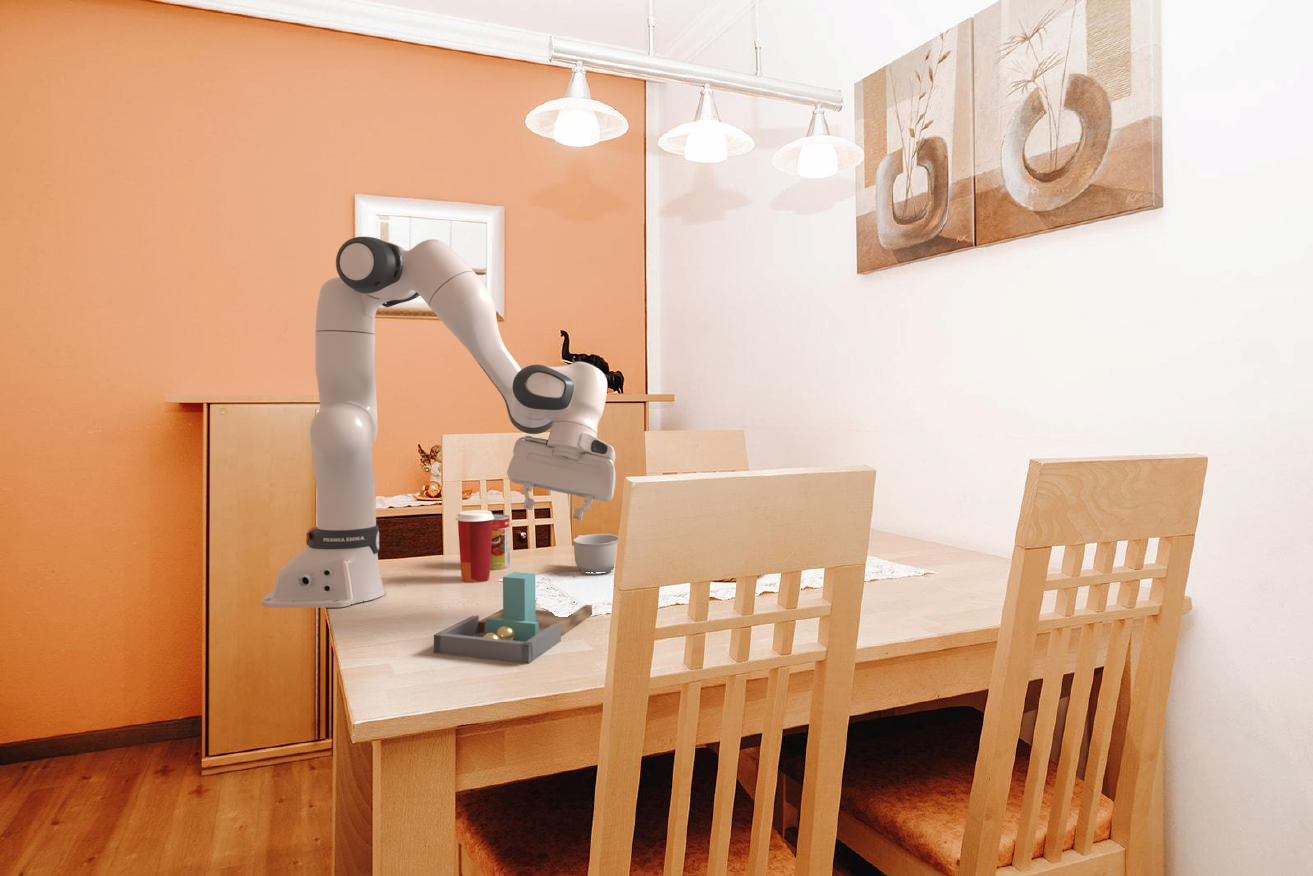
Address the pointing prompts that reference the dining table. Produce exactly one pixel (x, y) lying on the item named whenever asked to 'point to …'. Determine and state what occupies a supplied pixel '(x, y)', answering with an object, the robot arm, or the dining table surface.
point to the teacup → (595, 552)
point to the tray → (493, 643)
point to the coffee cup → (475, 544)
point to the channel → (549, 619)
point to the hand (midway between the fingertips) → (552, 514)
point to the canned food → (500, 543)
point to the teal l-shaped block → (517, 607)
